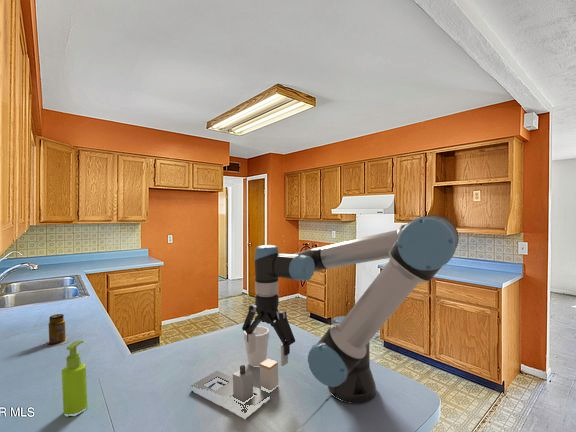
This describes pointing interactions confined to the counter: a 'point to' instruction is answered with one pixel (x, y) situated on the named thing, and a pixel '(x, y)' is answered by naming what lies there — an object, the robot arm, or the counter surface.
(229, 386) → the socket strip
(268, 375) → the plug
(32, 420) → the counter surface
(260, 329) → the foam cup
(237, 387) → the grey tall block
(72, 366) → the soap dispenser
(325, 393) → the counter surface
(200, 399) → the counter surface
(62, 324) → the condiment
